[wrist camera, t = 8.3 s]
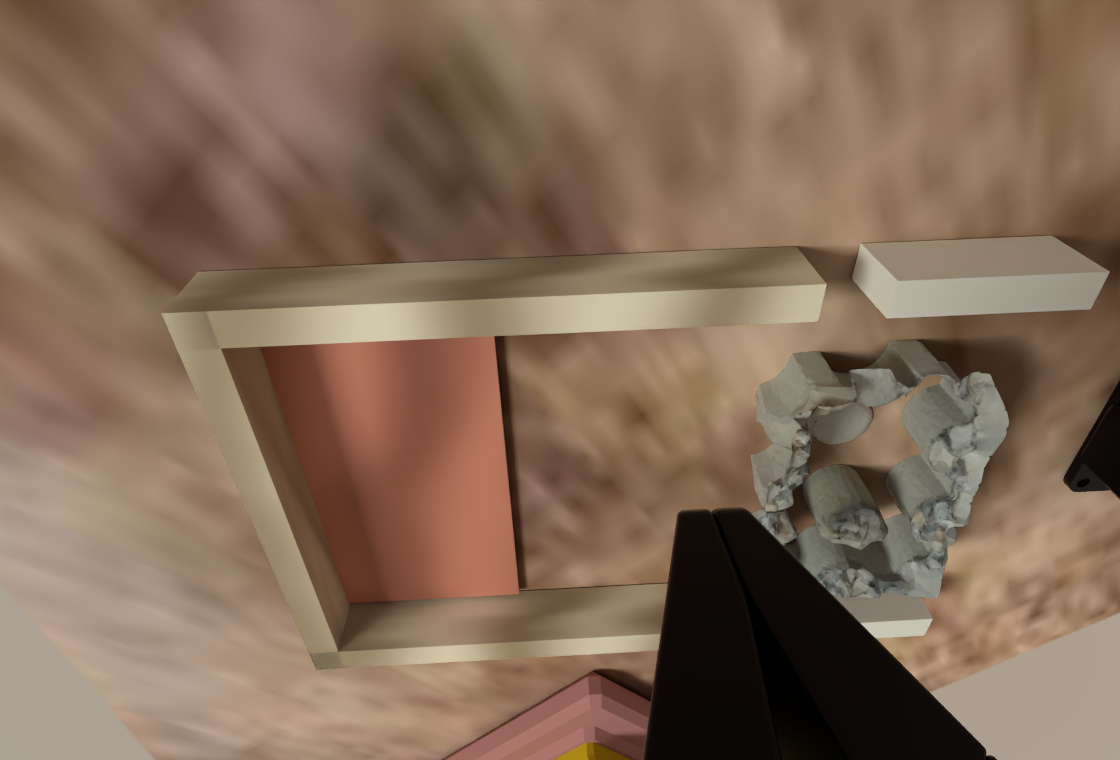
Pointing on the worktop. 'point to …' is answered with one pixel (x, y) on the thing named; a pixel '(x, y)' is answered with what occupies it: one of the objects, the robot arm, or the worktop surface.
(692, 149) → the worktop surface
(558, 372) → the worktop surface
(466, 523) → the channel
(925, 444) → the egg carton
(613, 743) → the retro mantel clock
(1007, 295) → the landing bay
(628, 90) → the worktop surface
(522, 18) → the worktop surface
